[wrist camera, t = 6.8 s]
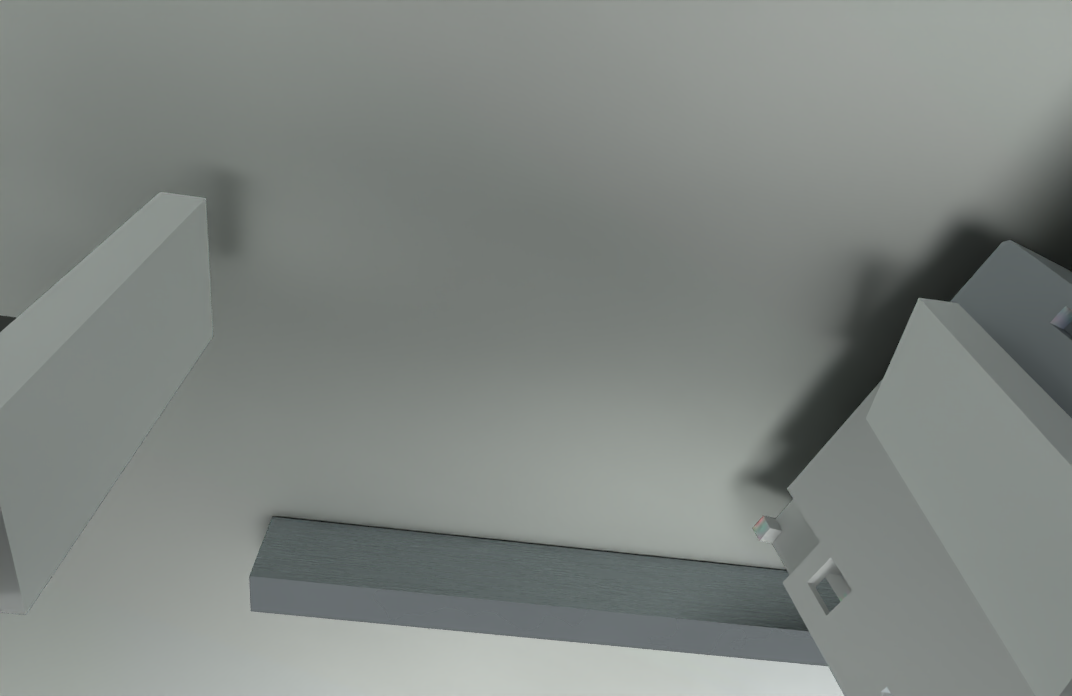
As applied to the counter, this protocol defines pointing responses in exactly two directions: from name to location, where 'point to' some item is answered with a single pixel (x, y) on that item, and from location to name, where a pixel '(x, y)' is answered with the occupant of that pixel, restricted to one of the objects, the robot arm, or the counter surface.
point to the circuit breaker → (914, 521)
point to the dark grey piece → (529, 591)
